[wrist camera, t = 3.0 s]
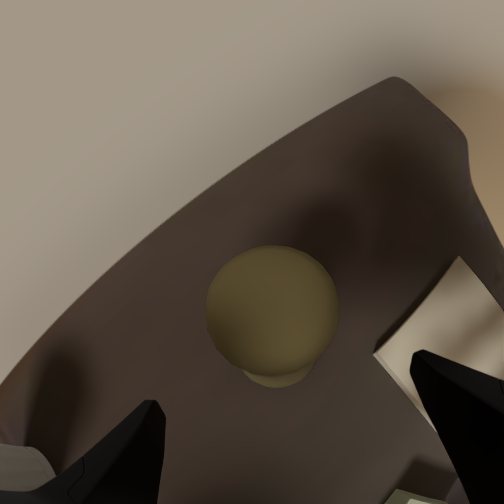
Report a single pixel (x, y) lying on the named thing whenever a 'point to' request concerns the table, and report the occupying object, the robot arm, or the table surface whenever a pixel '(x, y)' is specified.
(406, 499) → the soap bar
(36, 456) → the cup
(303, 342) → the cork
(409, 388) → the board
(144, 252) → the table surface
